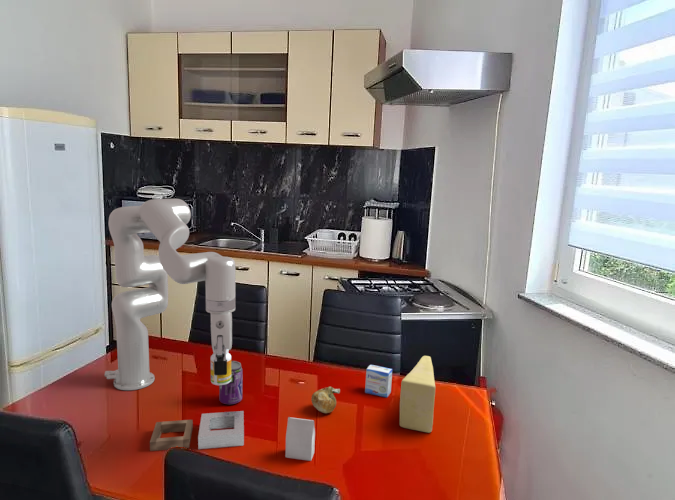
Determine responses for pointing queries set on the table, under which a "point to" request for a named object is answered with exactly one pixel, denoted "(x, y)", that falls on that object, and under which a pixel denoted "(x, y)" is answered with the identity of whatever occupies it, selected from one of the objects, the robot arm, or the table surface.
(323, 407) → the onion
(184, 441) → the brown square wooden frame
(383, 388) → the medicine box
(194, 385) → the table surface
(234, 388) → the beverage can
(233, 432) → the metal collar
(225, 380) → the supplement bottle
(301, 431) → the white boxy piece
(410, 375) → the cheese
